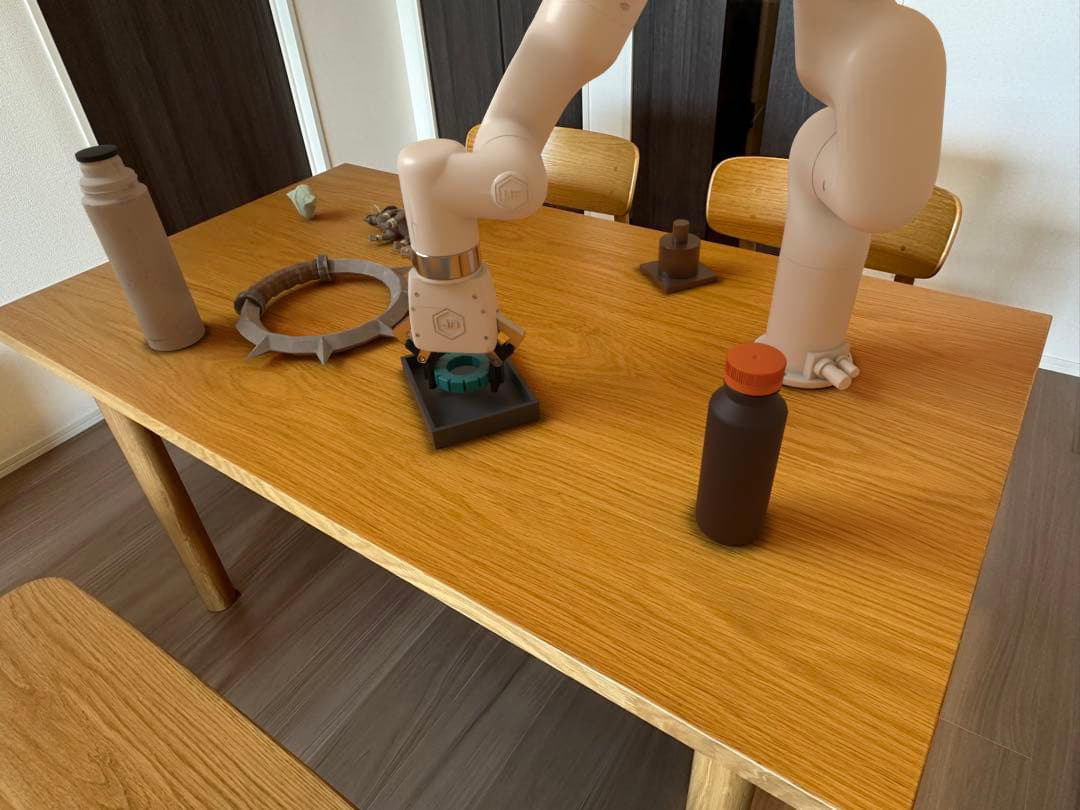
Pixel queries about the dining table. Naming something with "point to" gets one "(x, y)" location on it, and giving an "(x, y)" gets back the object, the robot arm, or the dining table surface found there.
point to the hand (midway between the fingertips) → (465, 383)
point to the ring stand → (678, 261)
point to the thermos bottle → (138, 249)
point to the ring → (462, 381)
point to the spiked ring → (261, 292)
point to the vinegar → (742, 445)
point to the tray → (470, 404)
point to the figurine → (389, 224)
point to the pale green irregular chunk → (304, 200)
